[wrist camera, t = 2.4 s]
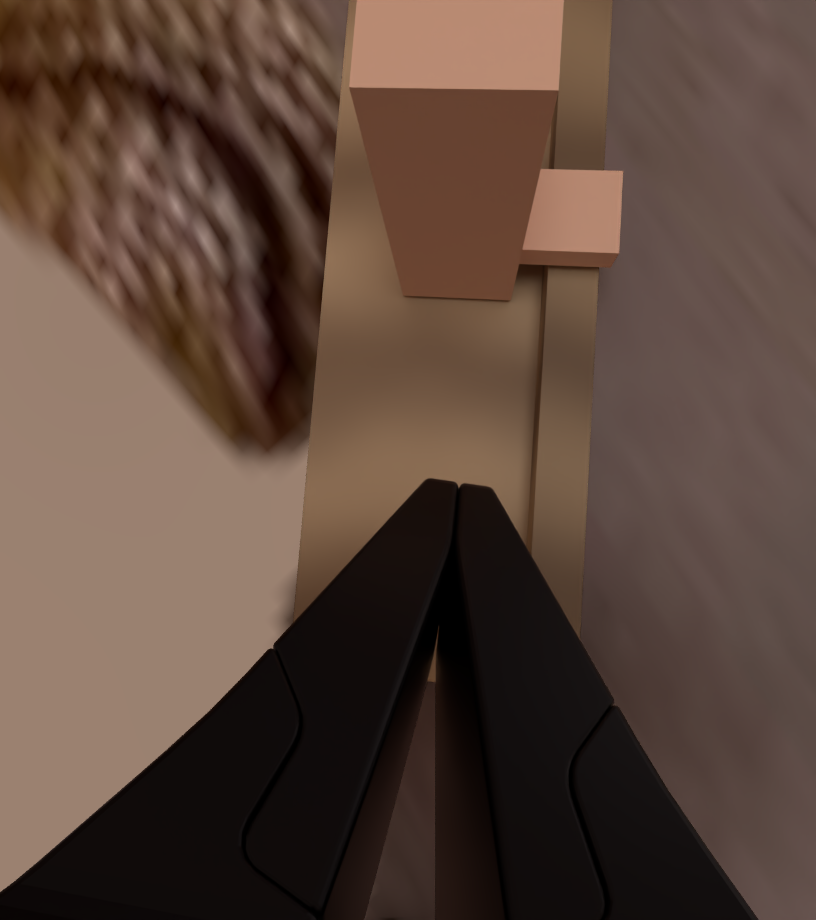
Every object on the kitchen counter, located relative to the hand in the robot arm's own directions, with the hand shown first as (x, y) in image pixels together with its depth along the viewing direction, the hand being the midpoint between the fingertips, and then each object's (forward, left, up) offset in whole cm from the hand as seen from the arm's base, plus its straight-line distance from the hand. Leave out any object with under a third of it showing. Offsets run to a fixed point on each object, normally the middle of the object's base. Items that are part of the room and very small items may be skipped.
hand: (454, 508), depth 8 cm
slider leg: (+8, +4, -12) cm, 15 cm away
